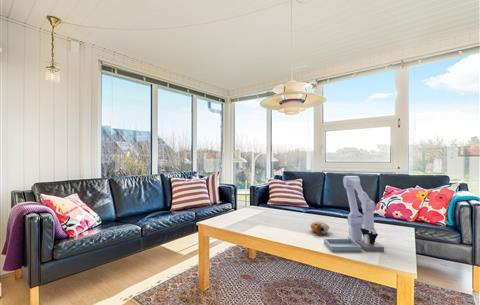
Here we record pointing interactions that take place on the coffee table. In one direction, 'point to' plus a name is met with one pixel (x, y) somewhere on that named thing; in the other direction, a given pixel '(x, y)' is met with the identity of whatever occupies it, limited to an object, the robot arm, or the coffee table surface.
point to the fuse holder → (370, 246)
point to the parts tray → (342, 245)
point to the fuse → (367, 240)
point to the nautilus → (319, 227)
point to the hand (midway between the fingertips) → (368, 242)
